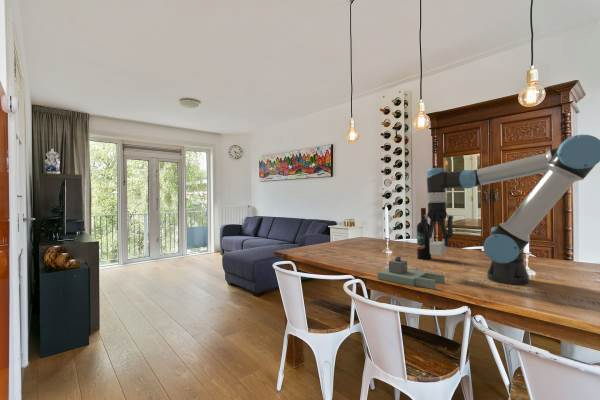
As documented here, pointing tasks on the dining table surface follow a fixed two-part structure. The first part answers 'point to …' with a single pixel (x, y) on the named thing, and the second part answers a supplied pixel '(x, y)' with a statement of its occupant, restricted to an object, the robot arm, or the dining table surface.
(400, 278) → the stepped grey base
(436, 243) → the pale grey block
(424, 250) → the wine bottle
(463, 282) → the dining table surface
